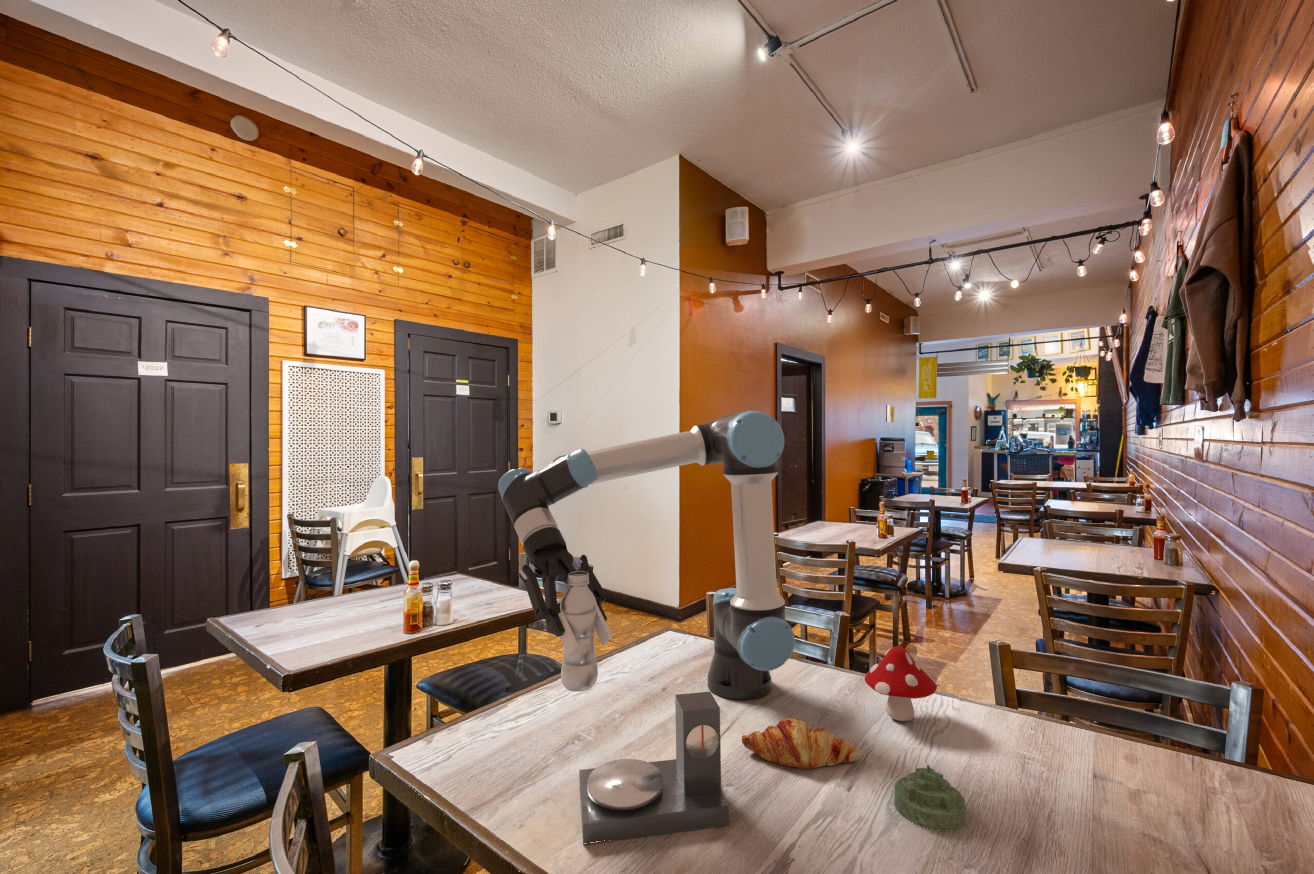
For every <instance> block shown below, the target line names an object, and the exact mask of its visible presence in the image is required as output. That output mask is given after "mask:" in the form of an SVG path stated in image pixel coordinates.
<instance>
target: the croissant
mask: <svg viewBox="0 0 1314 874" xmlns="http://www.w3.org/2000/svg"><path fill="white" fill-rule="evenodd" d="M741 743H742V744H743V746H744V747H745V749H747V750H749V751H752V752H753V753H755V754H757V755H758V756H759V757H760V758H762V759H764V761H767V762H771V763H776V764H778V765H782V766H785V767H790V768H800V769H816V768H822V767H825V766H827V767H832V766H835V765H838V764H841V763H846V764H848V763H852V762H854V761H855V762H856V761H857V760H858V759H859V758H860V755H861V751H860V749H859V748H857V747H855V746H853V744H851V743H850V741H847V739H846V738H838V737H837V736H836V735H834V734H833V733H831V732H830V731H829V730H827V728H826V727H818V728H815V727H814V728H812V729H811V727H810V726H808V724H807V723H806V722H805V721H803V720H801V719H796V718H789V717H788V718H783V719H781V720H778V723H777V725H769V726H767V727H766V728H765V729H764V730H763V731H759V730H757V731H753V732H751V733H750V734H748V735H744V734H743V735H742V736H741Z"/></svg>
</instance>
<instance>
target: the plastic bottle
mask: <svg viewBox="0 0 1314 874" xmlns="http://www.w3.org/2000/svg"><path fill="white" fill-rule="evenodd" d="M588 584H589V574H588V572H585V571H578V570H577V571H575V572H571V573H568V582H567V586H568V589H566V592H565V593H564V594H563V596H562V598H561V600H560V604H559V609H560V610H559V611H560V613H562V612H563V613H564V615H565V617H566V619H567V621H568V624H569V626H570V628H571V630H572V633H573V635H574V637H575V639H576V641H577V644H578V648H577V649H576V650H575V652H574V653H573V654H572V655H569V656H568V653H567V651H566V649H565V646H564V645H563V652H562V653H563V654H562V655H563V656H562V663H561V669H560V670H561V671H560V678H561V683H562V685H563V687H564V688H565V689H566V690H567V691H570V692H585V691H589V690H591V689H593V687H594V686H595V684H596V683H597V680H598V674H599V669H598V663H597V659H596V649H595V628H594V624H595V616H596V607H597V602H596V599H595V597H594V595H593V593H592V592H591V591H590V589H589V588H588Z"/></svg>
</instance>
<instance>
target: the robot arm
mask: <svg viewBox="0 0 1314 874" xmlns="http://www.w3.org/2000/svg"><path fill="white" fill-rule="evenodd" d="M784 447H785V434H784V432H783V428H782V427H781V425H780V424H779V422H778V421H777V420H776V419H775V418H774V417H772V416H771V415H770V414H768V413H766V412H762V411H758V410H757V411H756V410H747V411H741V412H737V413H731V414H727V415H725V416H722V417H719V418H717V419H714V420H711V421H708V422H704V423H701V424H697V425H696V424H695V425H693V426H692V428H691V429H690V430H689V431H688V430H687V431H682V432H677V433H673V434H667V435H663V436H658V437H653V438H648V439H643V440H642V439H641V440H638V441H633V442H627V443H621V444H617V445H613V446H608V447H602V448H597V449H592V450H588V451H587V450H586V449H585V448H579V449H576V450H575V451H571V452H569V453H568V454H564V455H558V456H557V457H556V458H554V459H553V460H552V461H551V463H550V464H548V465H546V466H544V467H542V468H541V469H538V470H536V471H534V472H531V470H530V469H528V468H526V467H518V468H517V469H515V468H513V469H510V470H508V471H507V472H505V473H504V474H502V476H501V477H500V478H499V480H498V484H497V488H498V492H499V495H500V497H501V501H502V504H503V506H504V508H505V510H506V513H507V514H508V517H509V518H510V521H511V523H512V525H513V528H514V529H515V532H516V534H517V536H518V539H519V541H520V543H521V545H522V547H523V551H524V553H525V555H526V558H527V560H528V562H529V563H530V564H529V565H528V564H523V566H522V568H521V569H520V571H519V573H518V576H519V578H520V580H521V581H522V582H523V583H524V586H525V589H526V592H527V595H528V597H529V601H530V603H531V607H532V610H533V613H534V617H535V618H536V620H537V621H542V620H544V622H545V624H547V625H549V624H550V626H551V629H552V630H553V631H552V632H554V635H555V636H556V637H557V638H558V637H559V638H560V639H561V641H562V644H563V647H564V646H565V649H566V651H567V653H568V656H569V655H572V654H573V653H574V652H575V650H576V649H577V648H578V644H577V641H576V639H575V637H574V635H573V633H572V630H571V628H570V626H569V624H568V621H567V619H566V617H565V615H564V613H563V612H562V613H561V612H559V607H558V605H559V604H558V597H557V588H556V587H557V586H556V582H557V581H562V582H563V583H564V584H565V585H567V582H568V573H571V572H575V571H585V572H588V574H589V584H588V588H589V589H590V591H591V592H592V593H593V595H594V597H595V599H596V602H597V607H596V616H595V624H594V631H595V632H596V635H597V637H598V638H599V640H600V643H601V645H602V646H604V645H607V644H608V642H609V641H610V640H611V638H612V637H613V634H612V632H611V630H610V628H609V626H608V624H607V621H608V617H607V615H606V613H605V611H604V609H603V607H602V604H603V603H604V602H605V600H606V599H607V598H608V597H607V593H606V592H605V590H604V589H603V587H602V585H601V583H600V582H599V580H598V578H597V577H596V575H595V573H594V572H593V570H592V568H591V566H590V564H589V561H588V557H587V555H586V554H581V555H580V557H579V556H577V557H576V556H573V554H571V552H569V550H568V547H567V542H566V541H565V539H564V536H563V534H562V532H561V530H560V529H559V526H558V524H557V522H556V520H555V518H554V516H553V514H552V512H551V510H550V508H549V507H550V506H553V505H555V504H556V503H558V502H560V501H561V500H563V499H565V498H567V497H569V496H571V495H573V494H575V493H577V492H579V491H581V490H582V489H584V488H585V489H586V488H588V486H590V485H593V484H598V483H599V484H600V483H603V482H607V481H613V480H618V479H622V478H627V477H632V476H637V475H642V474H648V473H653V472H657V471H662V470H666V469H670V468H676V467H681V466H685V465H690V464H698V465H700V466H702V467H703V466H706V465H714V464H722V471H723V474H722V475H723V477H725V478H726V479H727V480H728V481H729V483H730V489H731V490H730V491H731V508H732V509H731V511H732V524H733V525H732V528H733V529H732V530H733V546H734V548H733V549H734V563H735V568H734V569H735V583H736V584H735V586H736V587H729V588H721V589H718V590H716V591H715V592H714V595H713V602H712V606H713V639H714V640H713V641H714V642H713V644H714V647H713V648H714V653H713V655H712V660H711V662H710V666H709V670H708V673H707V688H708V690H709V691H710V692H712V693H713V694H715V695H717V696H719V697H721V698H725V699H731V700H739V701H741V700H742V701H744V700H748V701H749V700H755V699H760V698H763V697H765V696H767V695H768V694H770V693H771V691H772V689H773V688H772V684H773V683H772V682H773V680H772V676H771V673H770V671H774V670H776V669H779V668H780V667H782V666H784V664H785V663H786V662H787V661H788V660H789V659H790V658H791V657H792V654H793V652H794V649H795V645H796V644H795V643H796V639H795V638H796V637H795V633H794V631H793V629H792V627H791V625H790V624H789V623H788V622H787V618H786V616H787V615H786V601H785V599H784V598H783V597H782V596H781V595H780V594H779V593H778V587H777V586H778V585H777V584H778V583H777V571H776V570H777V567H776V552H775V551H776V548H775V531H774V528H775V527H774V514H773V513H774V512H773V510H774V509H773V491H772V490H773V489H772V488H773V487H772V481H773V480H774V478H775V477H776V476H777V475H778V474H779V463H778V459H779V458H780V457H781V455H782V453H783V451H784ZM537 575H538V576H539V577H541V585H542V588H543V593H544V595H543V593H542V589H541V587H540V583H539V581H538V578H537ZM567 586H568V585H567Z"/></svg>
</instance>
